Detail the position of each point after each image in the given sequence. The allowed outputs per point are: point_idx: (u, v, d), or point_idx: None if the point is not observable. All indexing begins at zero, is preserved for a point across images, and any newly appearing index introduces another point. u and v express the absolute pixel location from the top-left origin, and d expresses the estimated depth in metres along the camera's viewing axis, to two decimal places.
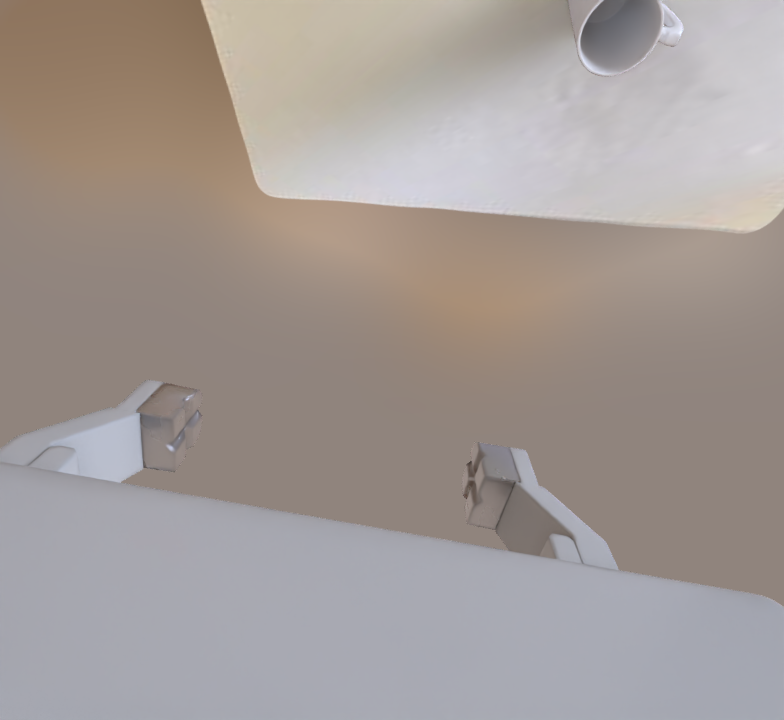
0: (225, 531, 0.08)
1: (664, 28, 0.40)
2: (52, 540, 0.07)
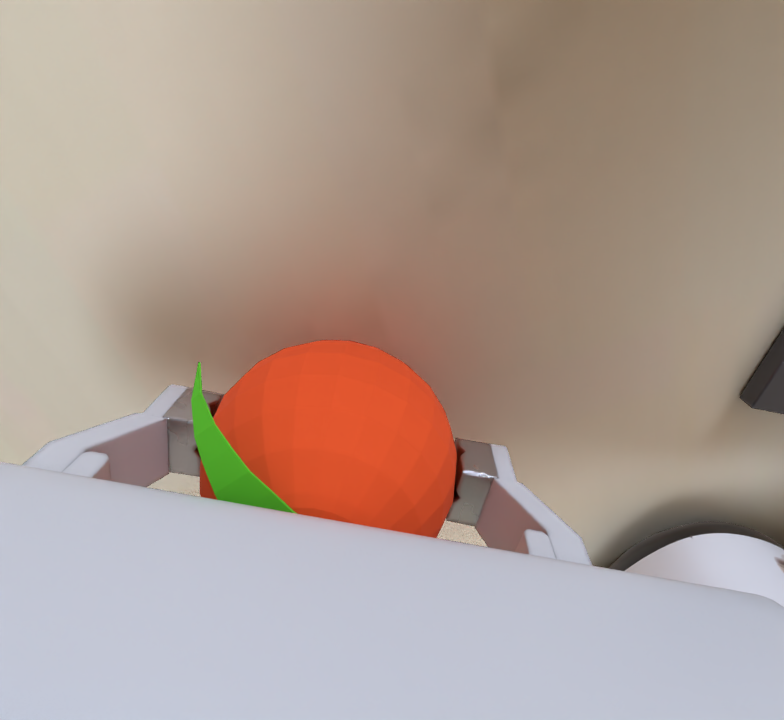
0: (225, 531, 0.08)
1: None
2: (52, 540, 0.07)
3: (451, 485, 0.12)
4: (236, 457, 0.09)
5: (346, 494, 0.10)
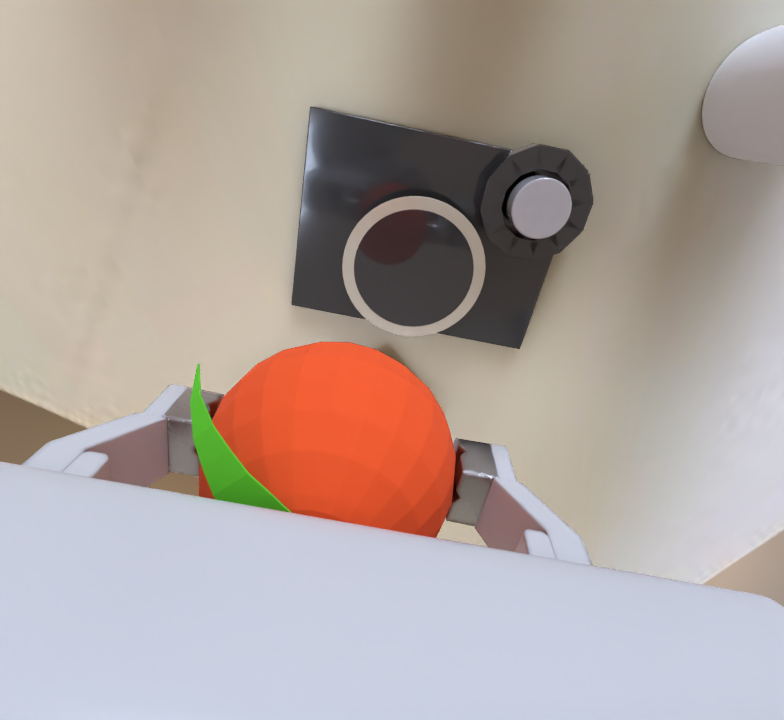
0: (225, 531, 0.08)
1: None
2: (52, 540, 0.07)
3: (450, 487, 0.12)
4: (235, 459, 0.09)
5: (344, 496, 0.10)
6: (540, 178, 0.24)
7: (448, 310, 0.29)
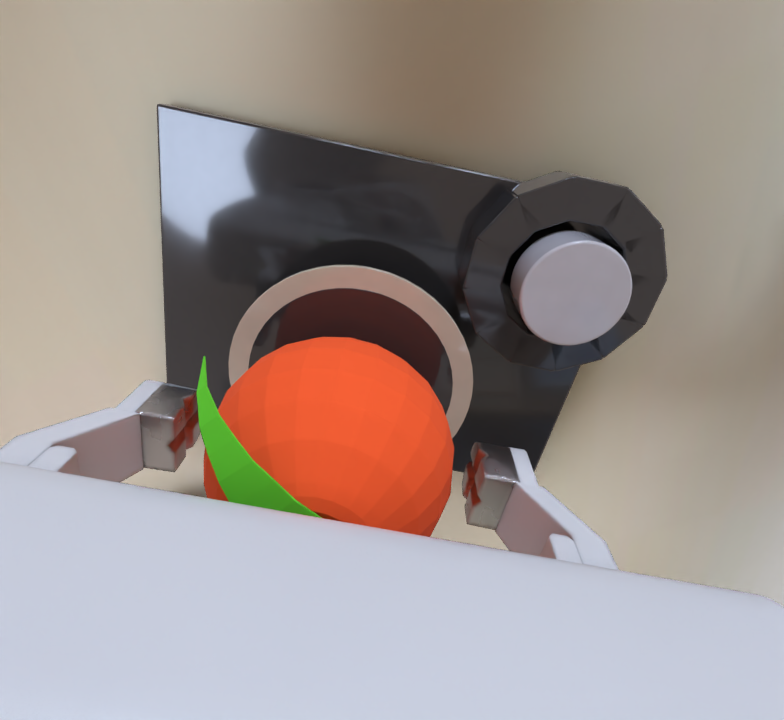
0: (225, 531, 0.08)
1: None
2: (52, 540, 0.07)
3: (448, 477, 0.12)
4: (240, 447, 0.10)
5: (345, 483, 0.10)
6: (575, 241, 0.13)
7: None
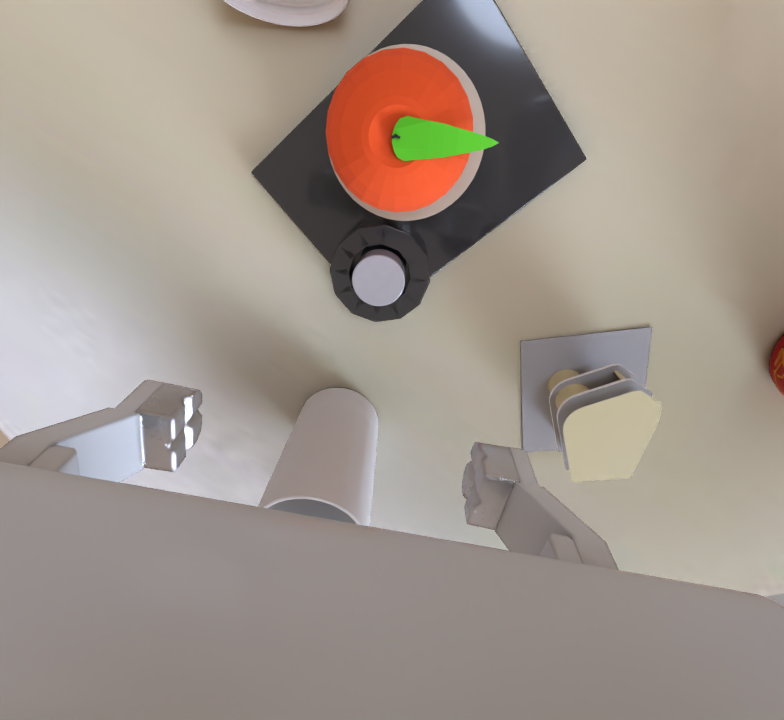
0: (225, 531, 0.08)
1: None
2: (52, 540, 0.07)
3: (361, 198, 0.22)
4: (463, 152, 0.19)
5: (413, 180, 0.20)
6: (400, 293, 0.28)
7: None
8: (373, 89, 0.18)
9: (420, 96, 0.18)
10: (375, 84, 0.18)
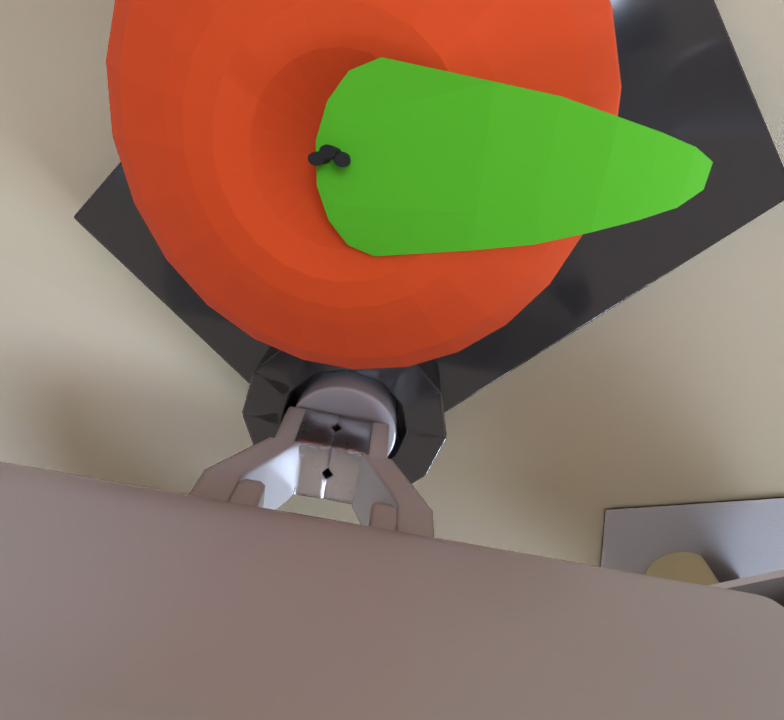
0: (225, 531, 0.08)
1: None
2: (52, 540, 0.07)
3: None
4: (620, 221, 0.05)
5: (413, 318, 0.05)
6: (388, 453, 0.14)
7: None
8: None
9: None
10: None
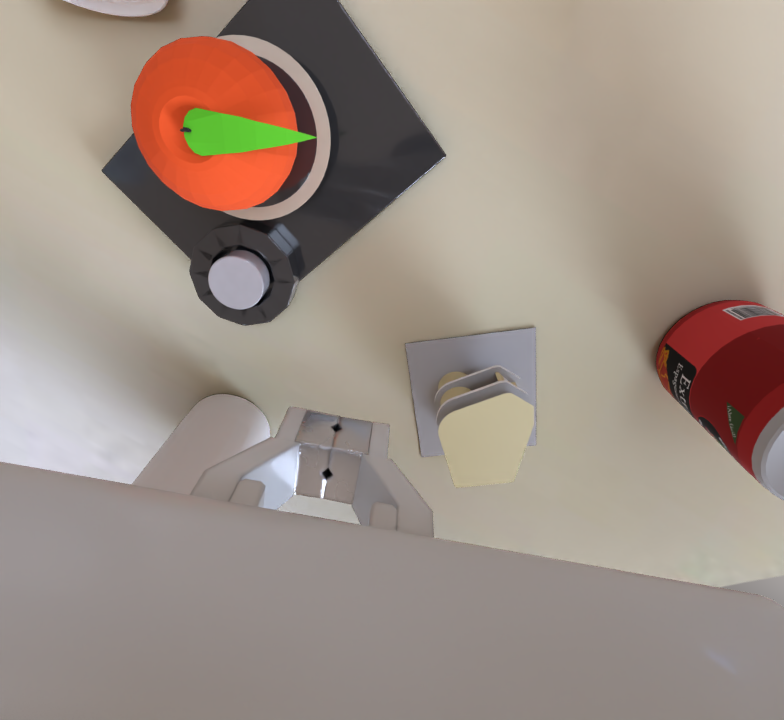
0: (225, 531, 0.08)
1: None
2: (52, 540, 0.07)
3: (181, 196, 0.21)
4: (266, 147, 0.18)
5: (219, 176, 0.19)
6: (261, 296, 0.27)
7: None
8: (160, 79, 0.17)
9: (209, 87, 0.17)
10: (162, 74, 0.17)
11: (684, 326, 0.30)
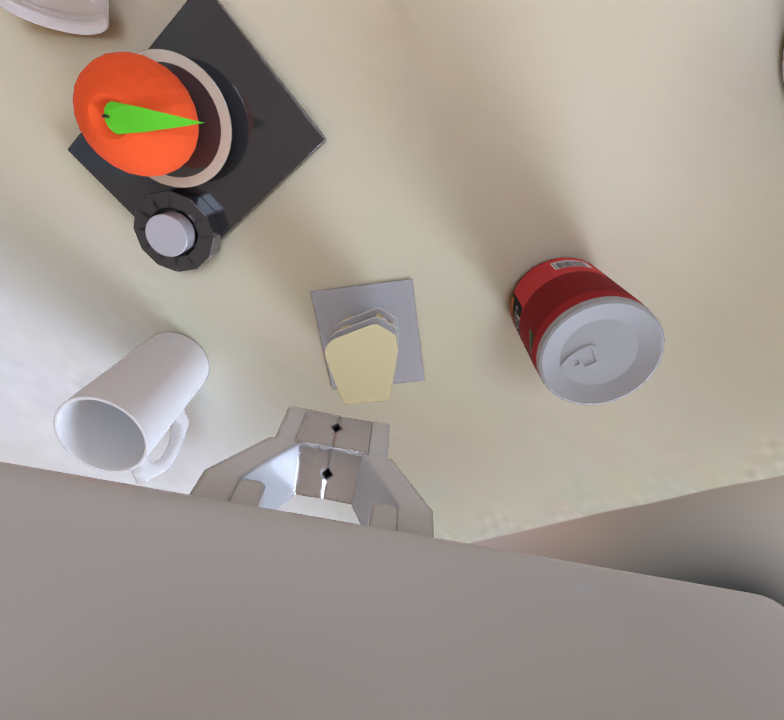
0: (225, 531, 0.08)
1: (144, 463, 0.37)
2: (52, 540, 0.07)
3: None
4: (162, 128, 0.27)
5: (132, 149, 0.27)
6: (186, 246, 0.35)
7: None
8: (88, 82, 0.26)
9: (120, 87, 0.26)
10: (89, 78, 0.26)
11: (524, 278, 0.38)
